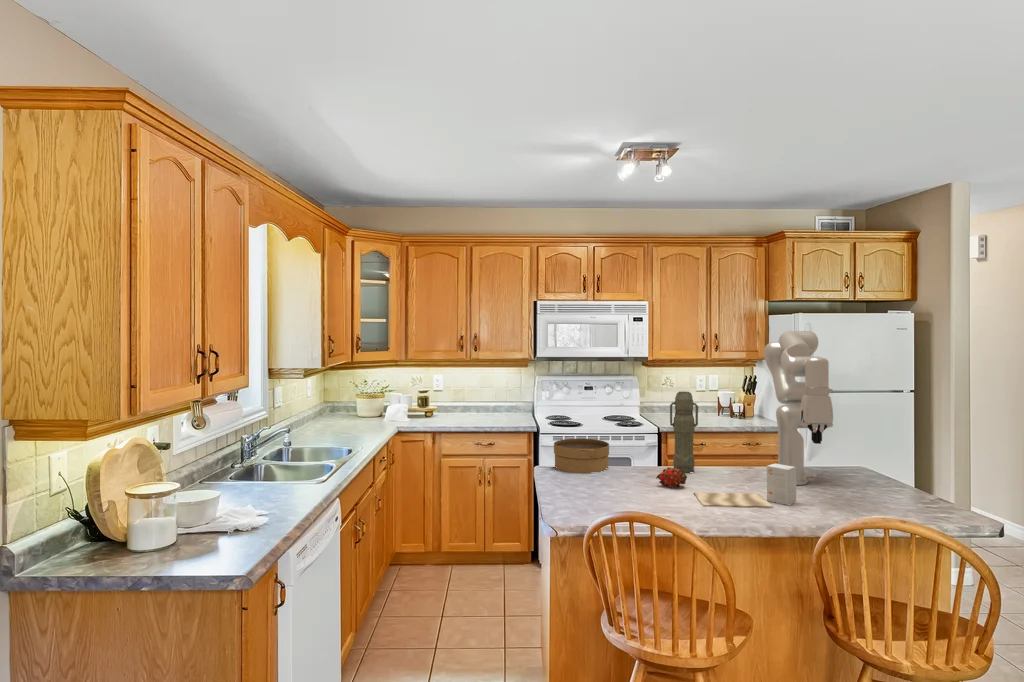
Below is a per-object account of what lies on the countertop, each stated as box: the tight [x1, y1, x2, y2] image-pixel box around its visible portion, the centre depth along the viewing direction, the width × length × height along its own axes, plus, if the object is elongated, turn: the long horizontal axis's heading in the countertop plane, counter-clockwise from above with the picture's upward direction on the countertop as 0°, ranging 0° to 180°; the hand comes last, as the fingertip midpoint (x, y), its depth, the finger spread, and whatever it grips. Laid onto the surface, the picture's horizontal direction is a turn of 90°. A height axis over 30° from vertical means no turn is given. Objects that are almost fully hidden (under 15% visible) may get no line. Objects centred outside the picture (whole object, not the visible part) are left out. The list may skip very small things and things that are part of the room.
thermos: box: [669, 391, 699, 474], centre depth 265 cm, size 9×12×35 cm
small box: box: [766, 463, 797, 506], centre depth 218 cm, size 8×6×13 cm
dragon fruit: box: [655, 466, 688, 489], centre depth 239 cm, size 8×8×12 cm
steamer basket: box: [553, 438, 610, 474], centre depth 274 cm, size 25×25×11 cm
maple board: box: [693, 491, 774, 508], centre depth 219 cm, size 24×16×1 cm, turn 85°
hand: (816, 443), depth 216 cm, fingers closed
